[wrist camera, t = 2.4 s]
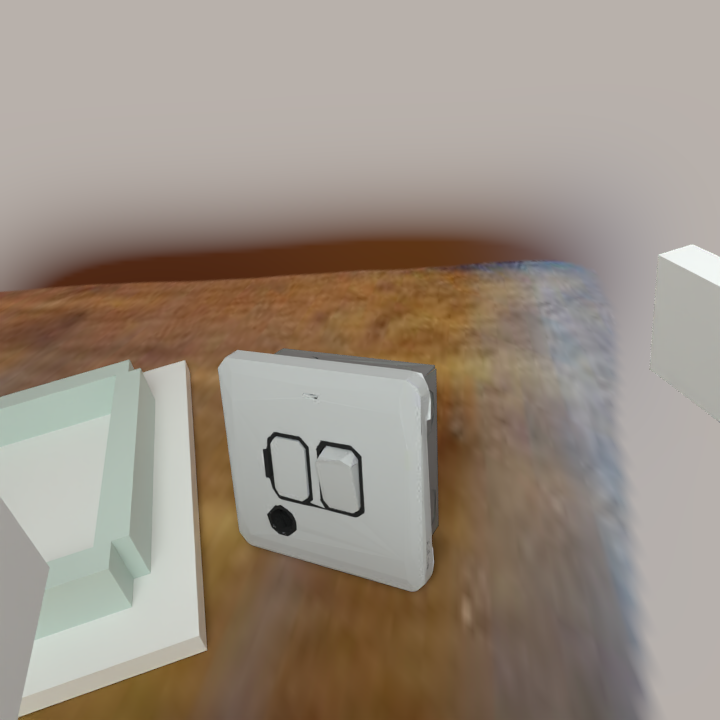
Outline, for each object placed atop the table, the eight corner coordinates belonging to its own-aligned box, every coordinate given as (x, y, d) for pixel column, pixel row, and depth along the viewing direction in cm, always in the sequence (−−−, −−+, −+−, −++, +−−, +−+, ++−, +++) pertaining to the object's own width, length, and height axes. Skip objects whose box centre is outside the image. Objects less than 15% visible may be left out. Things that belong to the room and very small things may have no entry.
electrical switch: (240, 546, 29) (188, 376, 25) (297, 478, 33) (261, 321, 29) (427, 602, 25) (404, 409, 21) (467, 516, 29) (454, 339, 25)
